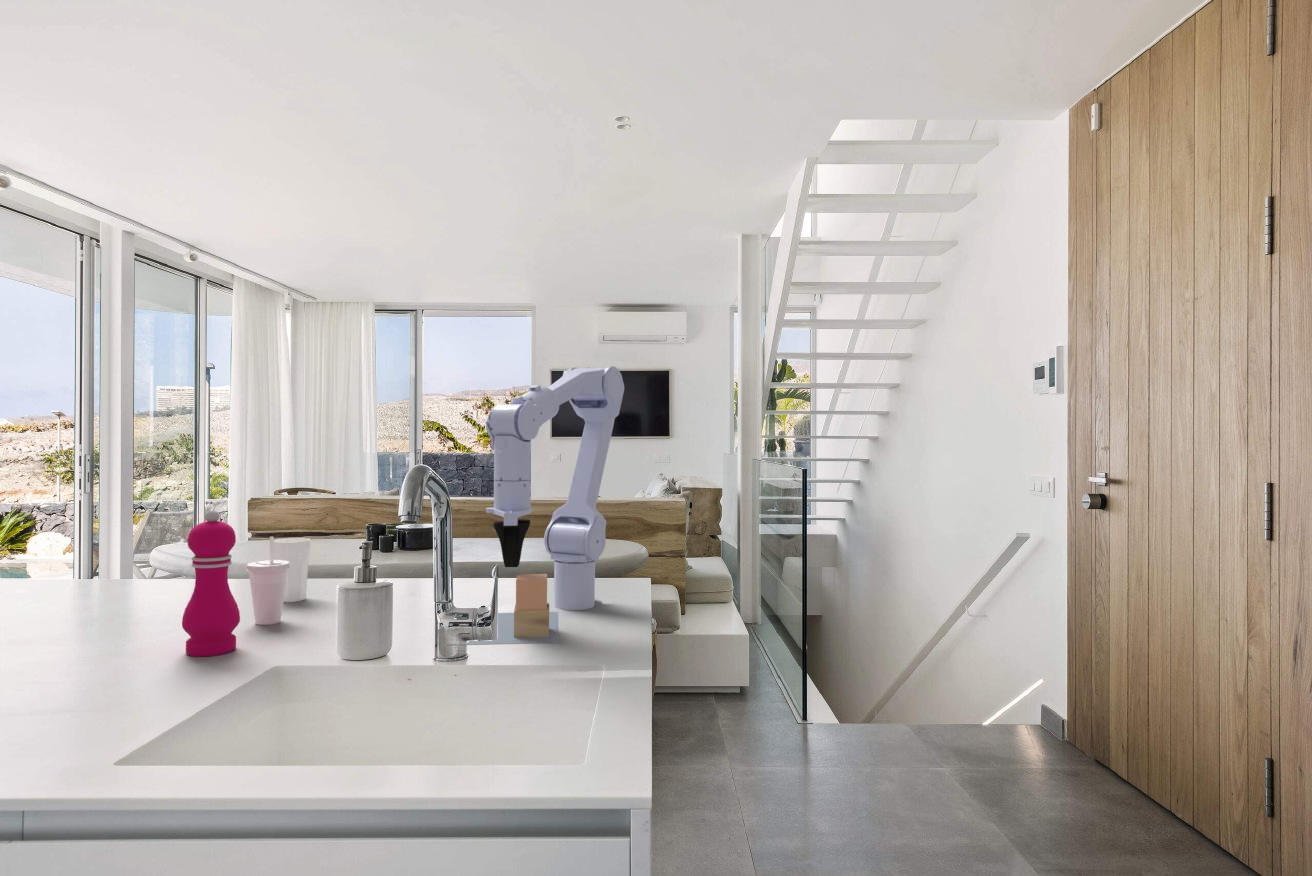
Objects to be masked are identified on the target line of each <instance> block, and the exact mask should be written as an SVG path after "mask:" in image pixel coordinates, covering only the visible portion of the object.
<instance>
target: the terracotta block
mask: <svg viewBox="0 0 1312 876" xmlns="http://www.w3.org/2000/svg"><path fill="white" fill-rule="evenodd" d="M547 603H548V573H526V574H523V573H521V574H517V575H516V578H515V604H516V610H547Z"/></svg>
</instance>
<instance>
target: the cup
mask: <svg viewBox="0 0 1312 876" xmlns="http://www.w3.org/2000/svg"><path fill="white" fill-rule="evenodd" d="M310 553H311V538H308V537H307V538H306V537H287V538H286V537H284V538H276V539H274V540H273V560H284V561H288V562H290V566H289V567H290V568H289V569H288V571H287V578H286V585H285V592H284V600H283V603H295V602H296V603H297V602H301V601H304V600H306V599H307V588H308V570H309V558H310V555H311V554H310Z"/></svg>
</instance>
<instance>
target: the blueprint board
mask: <svg viewBox="0 0 1312 876" xmlns="http://www.w3.org/2000/svg"><path fill="white" fill-rule="evenodd" d="M497 613H498V638H497V639H496V640H492V641H469V642H468V643H467V645H466V646H475V645H476V646H480V645H481V646H483V645H518V644H519V645H522V644H523V645H527V644H528V645H529V644H531V645H532V644H559V642H560V641H559V620H558V619H559V618H558V616H559V615H558V611H549V637H519V638H514V612H497Z"/></svg>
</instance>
